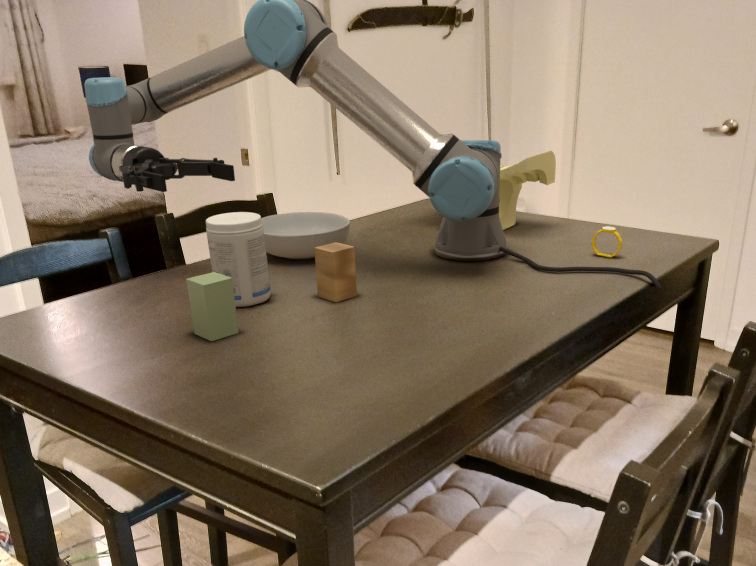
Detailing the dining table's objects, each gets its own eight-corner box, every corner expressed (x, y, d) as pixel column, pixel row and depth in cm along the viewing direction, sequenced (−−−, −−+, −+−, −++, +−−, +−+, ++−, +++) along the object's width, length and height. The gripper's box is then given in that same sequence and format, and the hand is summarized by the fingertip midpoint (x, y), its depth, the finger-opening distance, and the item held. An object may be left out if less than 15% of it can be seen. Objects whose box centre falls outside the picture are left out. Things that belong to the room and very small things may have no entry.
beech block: (339, 290, 139) (336, 241, 136) (357, 296, 136) (354, 246, 132) (317, 296, 136) (314, 247, 132) (335, 302, 133) (332, 252, 129)
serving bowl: (234, 262, 158) (230, 229, 155) (285, 239, 176) (282, 209, 173) (323, 271, 151) (320, 237, 148) (367, 246, 169) (366, 214, 166)
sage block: (221, 325, 123) (214, 271, 120) (238, 332, 120) (232, 277, 116) (194, 333, 120) (186, 278, 116) (211, 341, 117) (203, 285, 113)
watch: (589, 256, 158) (591, 227, 155) (593, 253, 160) (596, 224, 157) (617, 259, 155) (620, 230, 152) (622, 256, 157) (624, 227, 154)
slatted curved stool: (552, 225, 183) (556, 149, 176) (523, 240, 171) (526, 158, 164) (445, 213, 198) (444, 142, 191) (411, 225, 186) (410, 150, 179)
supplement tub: (263, 288, 141) (254, 209, 135) (277, 303, 133) (269, 219, 127) (210, 296, 137) (199, 215, 131) (222, 312, 129) (211, 226, 123)
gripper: (200, 177, 156) (260, 190, 143) (81, 195, 140) (136, 211, 127) (195, 139, 153) (256, 148, 140) (72, 153, 137) (128, 164, 124)
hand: (199, 178), depth 133 cm, fingers open, 13 cm apart
